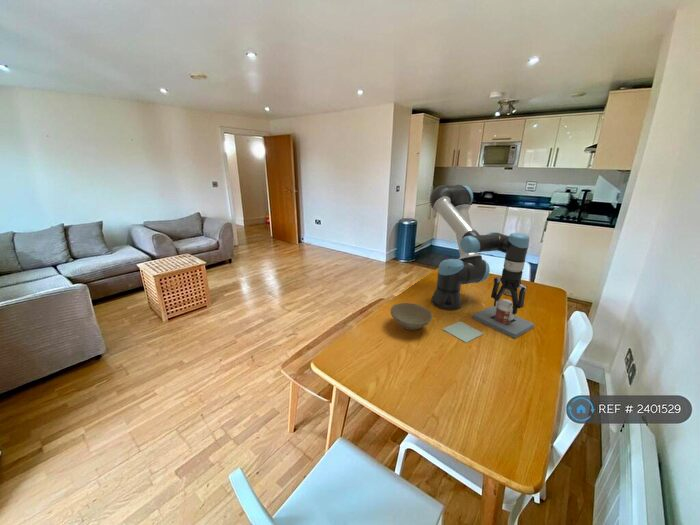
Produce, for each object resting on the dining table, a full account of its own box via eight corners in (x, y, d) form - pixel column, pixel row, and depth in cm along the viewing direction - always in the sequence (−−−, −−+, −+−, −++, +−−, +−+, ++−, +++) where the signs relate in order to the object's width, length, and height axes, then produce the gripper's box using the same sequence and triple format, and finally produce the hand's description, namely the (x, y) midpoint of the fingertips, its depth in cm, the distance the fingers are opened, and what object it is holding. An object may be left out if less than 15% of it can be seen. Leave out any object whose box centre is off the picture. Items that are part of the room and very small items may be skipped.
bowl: (438, 327, 126) (440, 311, 123) (417, 345, 113) (419, 327, 110) (403, 313, 138) (404, 298, 135) (381, 328, 125) (381, 312, 122)
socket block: (472, 318, 133) (472, 314, 132) (491, 309, 141) (492, 305, 140) (514, 338, 117) (515, 334, 116) (533, 327, 125) (534, 323, 124)
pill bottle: (503, 327, 125) (507, 305, 122) (491, 321, 131) (495, 299, 127) (512, 324, 127) (517, 302, 124) (501, 318, 133) (505, 297, 129)
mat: (442, 329, 124) (442, 328, 123) (459, 321, 130) (459, 321, 130) (465, 343, 114) (466, 342, 114) (483, 334, 120) (483, 333, 120)
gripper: (487, 264, 126) (479, 309, 134) (531, 277, 111) (520, 328, 118) (496, 261, 130) (488, 306, 137) (541, 274, 115) (529, 323, 122)
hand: (503, 316), depth 128 cm, fingers closed on pill bottle, 6 cm apart
